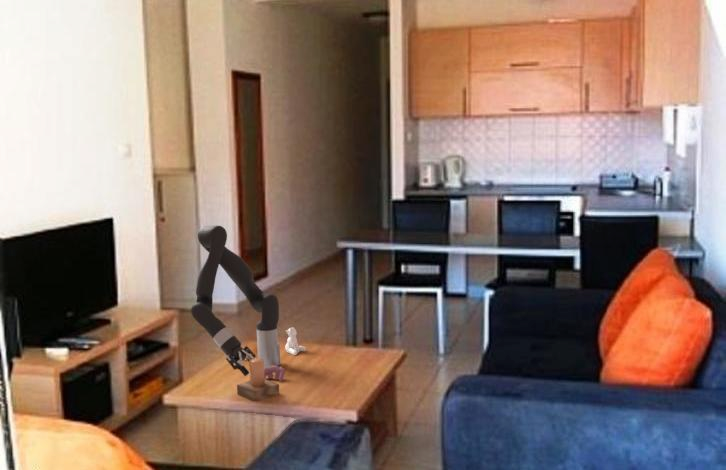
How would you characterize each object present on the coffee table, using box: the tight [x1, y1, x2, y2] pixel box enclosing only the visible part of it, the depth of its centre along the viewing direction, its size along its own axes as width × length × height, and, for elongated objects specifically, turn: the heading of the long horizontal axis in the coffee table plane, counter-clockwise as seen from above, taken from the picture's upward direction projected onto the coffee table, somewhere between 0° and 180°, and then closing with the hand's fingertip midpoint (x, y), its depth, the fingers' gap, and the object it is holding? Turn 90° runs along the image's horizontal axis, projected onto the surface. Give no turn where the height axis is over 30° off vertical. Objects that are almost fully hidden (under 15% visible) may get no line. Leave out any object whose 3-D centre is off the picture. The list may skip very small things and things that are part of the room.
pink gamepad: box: [264, 365, 286, 383], centre depth 320 cm, size 10×5×7 cm, turn 73°
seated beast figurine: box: [284, 327, 306, 356], centre depth 359 cm, size 10×9×12 cm
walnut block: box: [236, 378, 280, 402], centre depth 302 cm, size 12×12×4 cm
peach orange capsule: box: [248, 357, 266, 387], centre depth 301 cm, size 6×6×10 cm
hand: (252, 371), depth 302 cm, fingers open, 8 cm apart
